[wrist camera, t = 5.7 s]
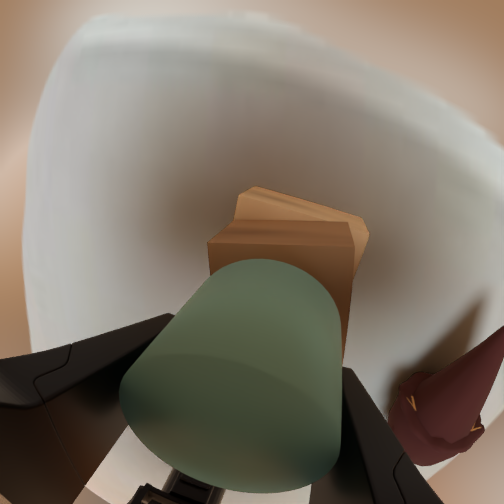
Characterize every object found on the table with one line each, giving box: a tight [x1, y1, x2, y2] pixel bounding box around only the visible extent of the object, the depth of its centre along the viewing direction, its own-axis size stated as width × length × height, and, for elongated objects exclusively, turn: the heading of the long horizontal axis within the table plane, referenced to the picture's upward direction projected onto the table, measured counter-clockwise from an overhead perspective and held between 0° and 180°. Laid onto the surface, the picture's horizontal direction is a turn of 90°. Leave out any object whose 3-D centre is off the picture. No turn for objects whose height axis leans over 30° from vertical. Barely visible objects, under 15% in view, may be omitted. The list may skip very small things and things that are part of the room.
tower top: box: [207, 220, 355, 364], centre depth 13 cm, size 5×5×4 cm
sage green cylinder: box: [119, 259, 342, 493], centre depth 8 cm, size 5×5×4 cm
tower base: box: [233, 186, 370, 279], centre depth 16 cm, size 6×6×4 cm
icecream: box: [388, 326, 504, 466], centre depth 15 cm, size 7×7×15 cm
